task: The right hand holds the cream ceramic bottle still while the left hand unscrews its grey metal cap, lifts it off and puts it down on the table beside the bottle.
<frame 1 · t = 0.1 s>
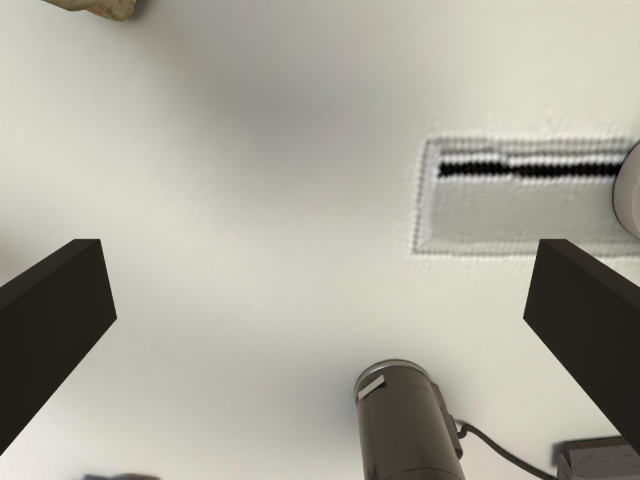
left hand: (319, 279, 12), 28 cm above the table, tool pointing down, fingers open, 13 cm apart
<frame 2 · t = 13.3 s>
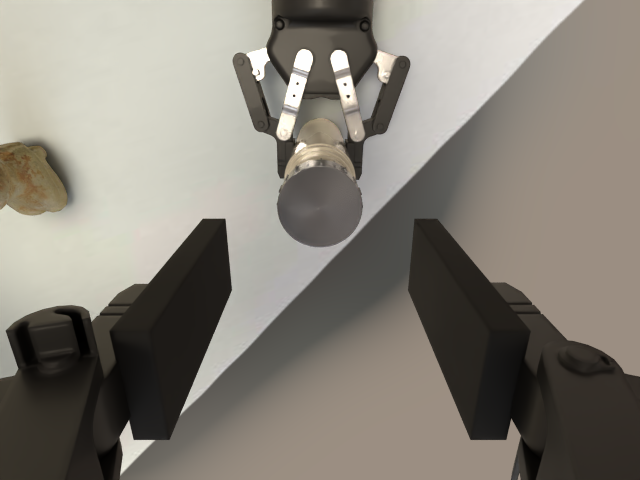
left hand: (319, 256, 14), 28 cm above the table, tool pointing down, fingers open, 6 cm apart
right hand: (319, 182, 35), fingers closed on bottle, 4 cm apart
sculpture: (42, 174, 41), on the table
bottle: (319, 141, 40), on the table, touching right hand
cap: (319, 206, 20), point 22 cm above the table, screwed on, not yet turned
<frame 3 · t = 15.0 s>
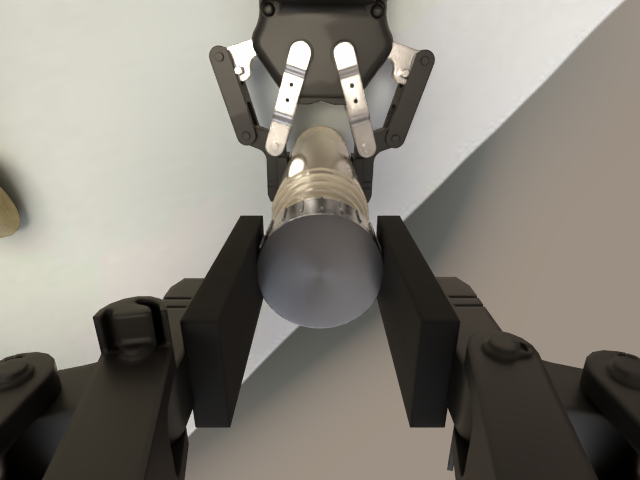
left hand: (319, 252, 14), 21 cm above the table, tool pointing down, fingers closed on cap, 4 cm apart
right hand: (319, 206, 29), fingers closed on bottle, 4 cm apart
bottle: (320, 153, 34), on the table, touching right hand
cap: (320, 270, 13), point 22 cm above the table, screwed on, not yet turned, touching left hand
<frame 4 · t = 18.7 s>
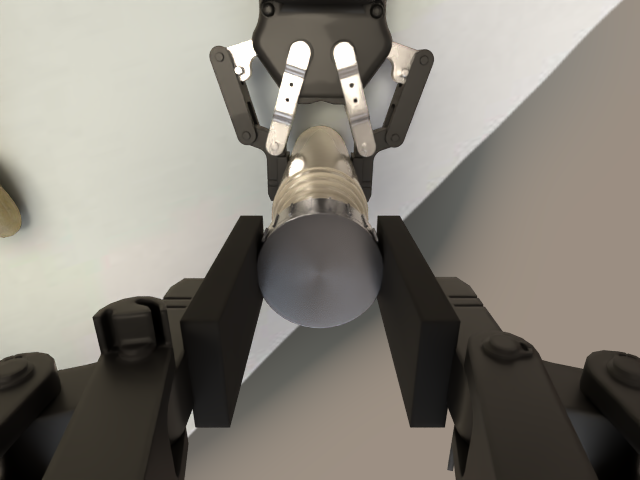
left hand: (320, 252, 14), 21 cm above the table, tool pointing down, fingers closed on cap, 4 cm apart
right hand: (319, 205, 29), fingers closed on bottle, 4 cm apart
bottle: (320, 152, 34), on the table, touching right hand
cap: (320, 269, 13), point 22 cm above the table, turned 136° so far, risen 0.1 cm, still on its thread, touching left hand
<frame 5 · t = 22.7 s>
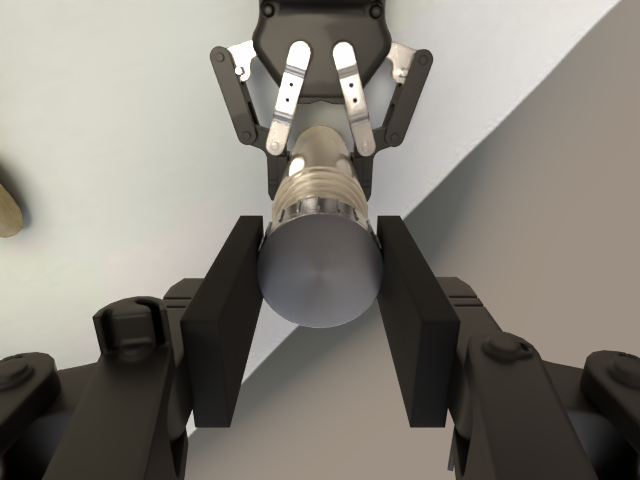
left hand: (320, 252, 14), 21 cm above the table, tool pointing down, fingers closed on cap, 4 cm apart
right hand: (320, 205, 29), fingers closed on bottle, 4 cm apart
bottle: (320, 152, 34), on the table, touching right hand
cap: (320, 269, 13), point 22 cm above the table, turned 273° so far, risen 0.3 cm, still on its thread, touching left hand
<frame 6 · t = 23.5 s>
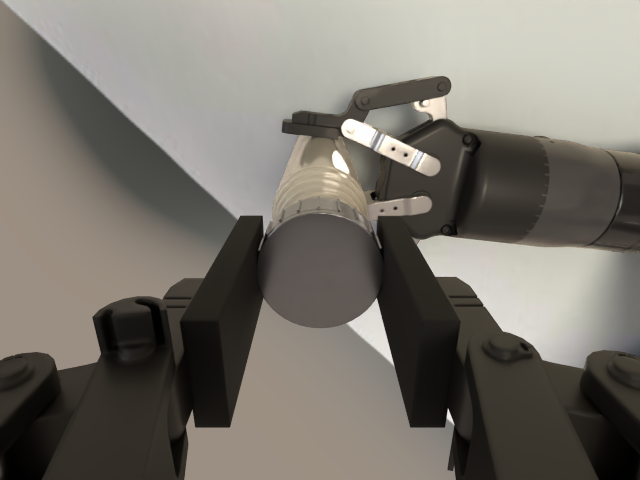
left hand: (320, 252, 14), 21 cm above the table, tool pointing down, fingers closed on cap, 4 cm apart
right hand: (281, 163, 28), fingers closed on bottle, 4 cm apart
bottle: (320, 152, 34), on the table, touching right hand
cap: (320, 269, 13), point 22 cm above the table, turned 369° so far, risen 0.4 cm, still on its thread, touching left hand
when the left hand's fingers open (1 cm above the table, at t = 29.6 s): cap drops 1 cm, point 1 cm above the table.
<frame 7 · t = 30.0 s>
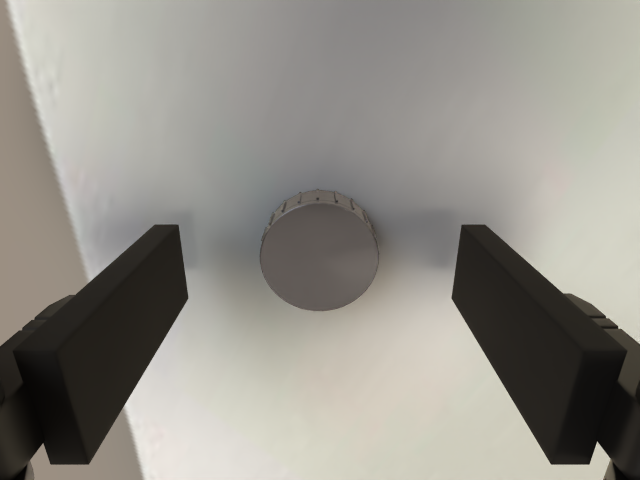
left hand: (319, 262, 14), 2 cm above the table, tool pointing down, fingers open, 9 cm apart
cap: (319, 256, 14), point 1 cm above the table, off its thread
when the right hand's fingers open (6 cm above the table, at t = 30.9 s): bottle stays where it is, on the table.
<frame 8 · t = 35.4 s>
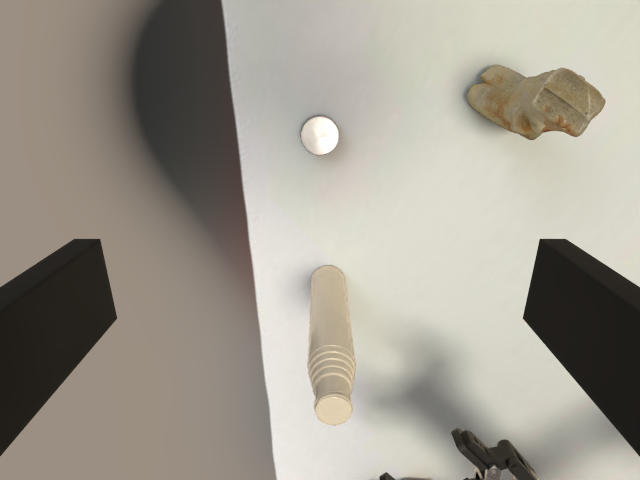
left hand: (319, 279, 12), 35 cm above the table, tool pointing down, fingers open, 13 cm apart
sculpture: (497, 99, 44), on the table
bottle: (328, 280, 52), on the table
cap: (319, 135, 44), point 1 cm above the table, off its thread
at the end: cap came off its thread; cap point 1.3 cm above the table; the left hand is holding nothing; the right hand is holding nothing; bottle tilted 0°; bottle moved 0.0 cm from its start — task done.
